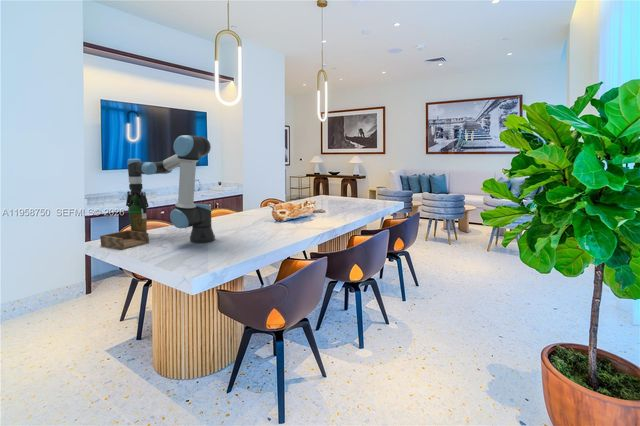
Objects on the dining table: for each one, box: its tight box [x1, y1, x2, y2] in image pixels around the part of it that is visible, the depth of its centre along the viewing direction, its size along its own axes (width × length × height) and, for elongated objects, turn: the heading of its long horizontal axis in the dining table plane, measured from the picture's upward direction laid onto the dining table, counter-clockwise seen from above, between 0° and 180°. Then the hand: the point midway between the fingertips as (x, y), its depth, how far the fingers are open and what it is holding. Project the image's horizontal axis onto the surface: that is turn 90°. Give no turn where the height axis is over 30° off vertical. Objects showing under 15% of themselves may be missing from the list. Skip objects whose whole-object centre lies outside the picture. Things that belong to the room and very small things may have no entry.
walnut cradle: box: [99, 229, 150, 251], centre depth 217 cm, size 18×18×6 cm
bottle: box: [127, 194, 148, 233], centre depth 234 cm, size 11×11×28 cm
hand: (138, 217), depth 235 cm, fingers closed on bottle, 10 cm apart
